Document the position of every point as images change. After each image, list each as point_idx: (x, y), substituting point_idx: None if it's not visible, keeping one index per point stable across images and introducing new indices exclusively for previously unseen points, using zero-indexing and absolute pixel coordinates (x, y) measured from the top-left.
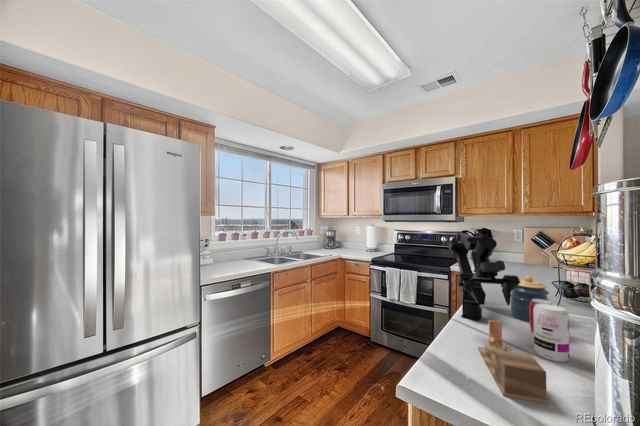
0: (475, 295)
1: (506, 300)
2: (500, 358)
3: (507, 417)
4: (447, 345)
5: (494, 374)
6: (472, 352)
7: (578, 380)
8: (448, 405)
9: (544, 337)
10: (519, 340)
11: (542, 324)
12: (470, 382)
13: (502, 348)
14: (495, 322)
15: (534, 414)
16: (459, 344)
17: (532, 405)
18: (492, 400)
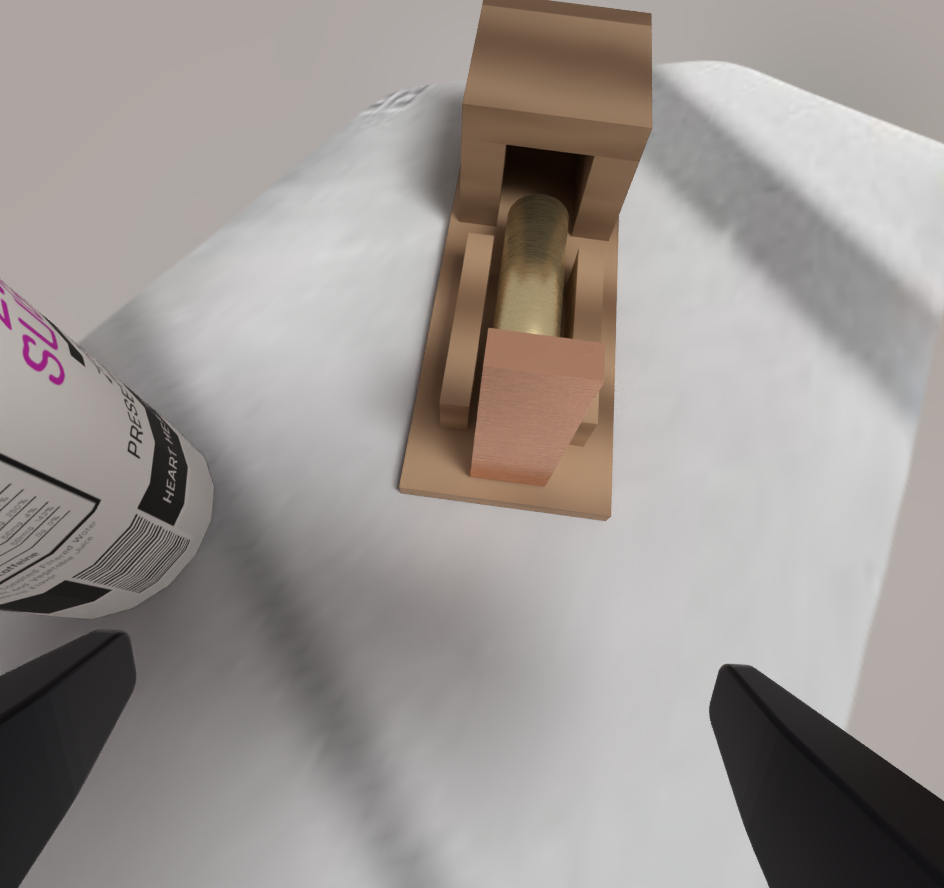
0: (888, 770)
1: (59, 760)
2: (651, 56)
3: None
4: (810, 542)
5: (612, 234)
6: (654, 468)
7: (206, 278)
8: (813, 94)
9: (124, 389)
10: (166, 779)
11: (48, 333)
12: (722, 203)
13: (518, 331)
14: (547, 340)
15: None
16: (723, 577)
17: None
18: (663, 127)
